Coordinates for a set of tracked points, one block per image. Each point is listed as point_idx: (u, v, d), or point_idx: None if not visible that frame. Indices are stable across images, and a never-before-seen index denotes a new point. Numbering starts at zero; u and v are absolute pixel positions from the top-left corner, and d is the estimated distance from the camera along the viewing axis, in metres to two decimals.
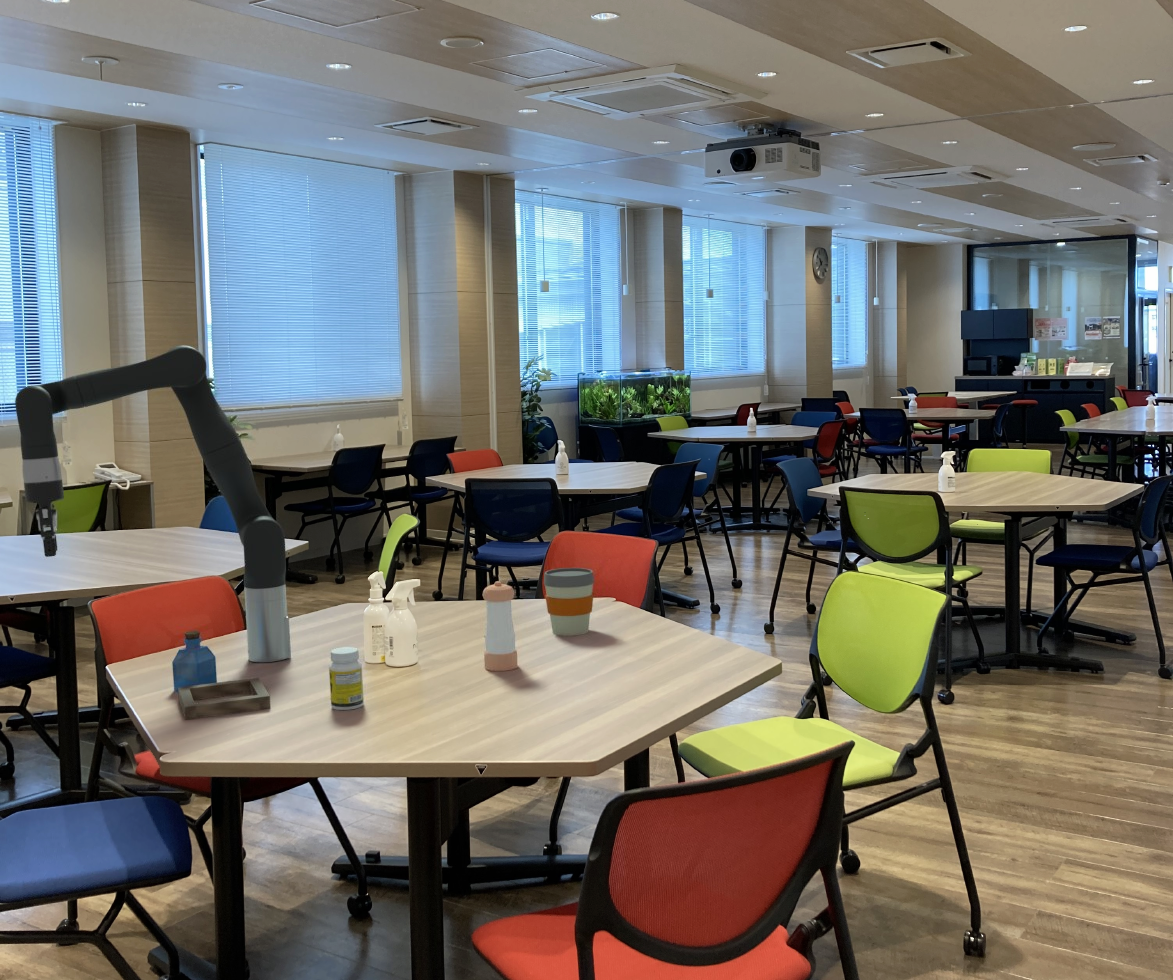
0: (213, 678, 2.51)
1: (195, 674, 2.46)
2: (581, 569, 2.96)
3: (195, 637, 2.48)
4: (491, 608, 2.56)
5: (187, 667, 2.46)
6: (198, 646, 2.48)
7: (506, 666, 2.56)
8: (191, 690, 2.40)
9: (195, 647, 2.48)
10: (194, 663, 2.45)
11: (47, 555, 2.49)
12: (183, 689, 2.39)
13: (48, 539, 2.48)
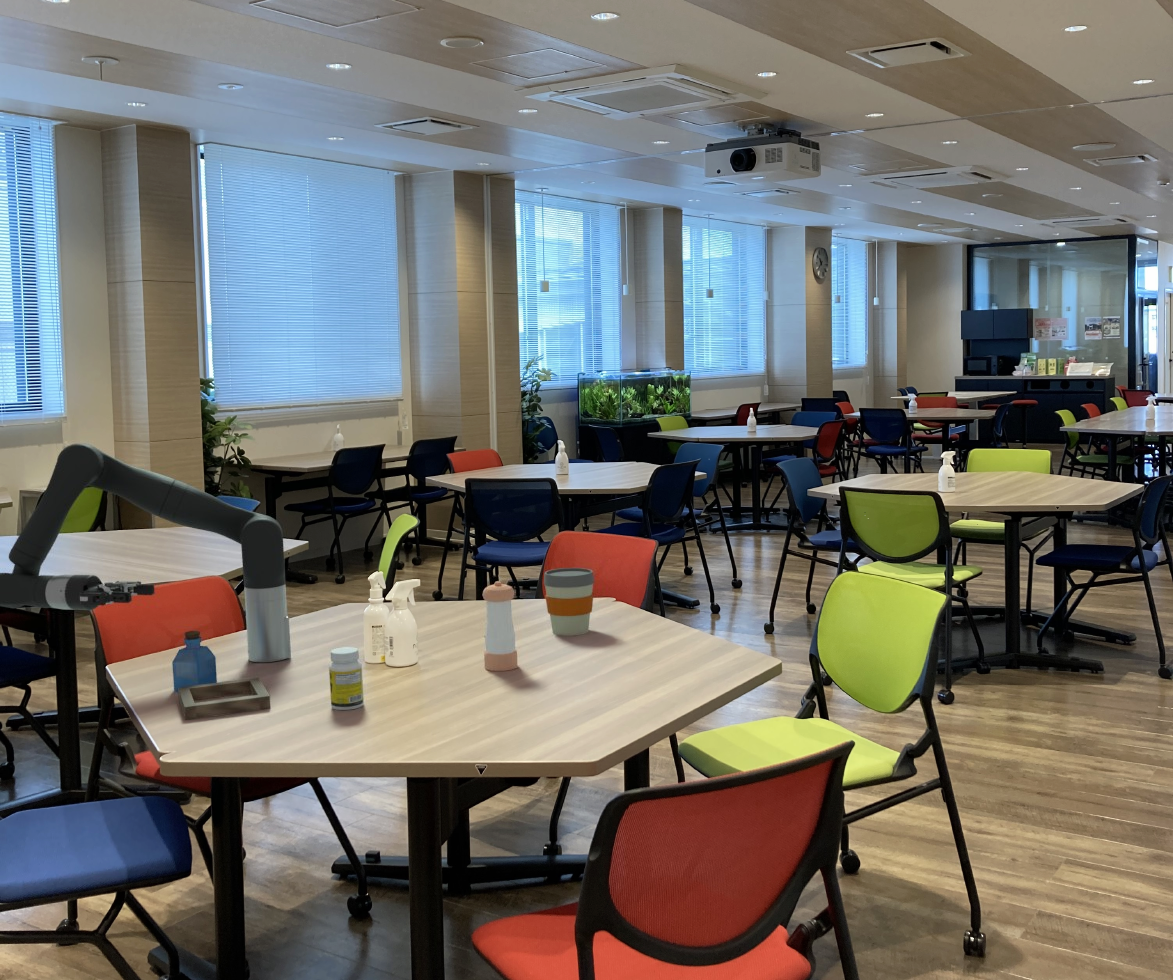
0: (213, 678, 2.51)
1: (195, 674, 2.46)
2: (581, 569, 2.96)
3: (195, 637, 2.48)
4: (491, 608, 2.56)
5: (187, 667, 2.46)
6: (198, 646, 2.48)
7: (506, 666, 2.56)
8: (191, 690, 2.40)
9: (195, 647, 2.48)
10: (194, 663, 2.45)
11: (128, 600, 2.46)
12: (183, 689, 2.39)
13: (111, 598, 2.45)
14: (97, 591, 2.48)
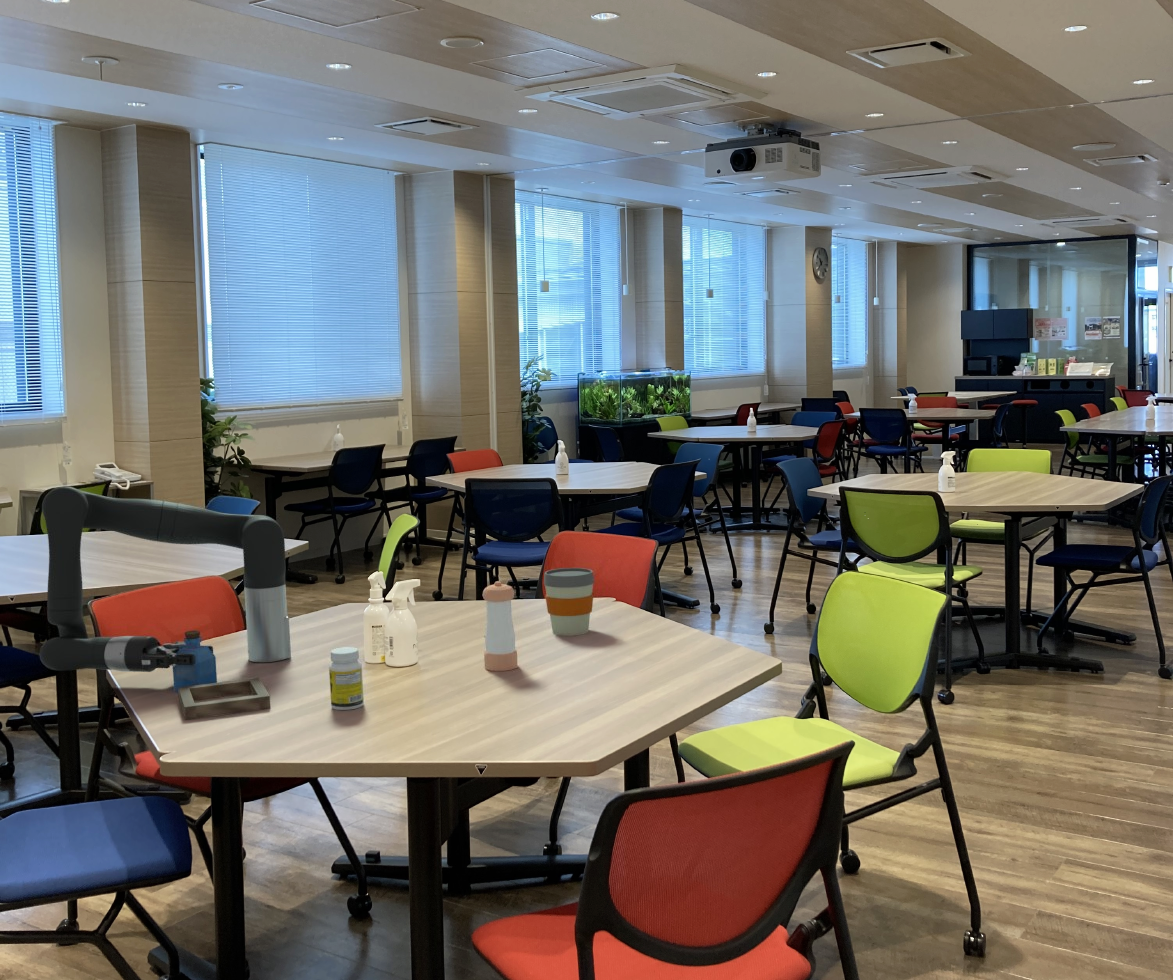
0: (213, 678, 2.51)
1: (195, 674, 2.46)
2: (581, 569, 2.96)
3: (195, 637, 2.48)
4: (491, 608, 2.56)
5: (187, 667, 2.46)
6: (198, 646, 2.48)
7: (506, 666, 2.56)
8: (191, 690, 2.40)
9: (195, 647, 2.48)
10: None
11: (192, 662, 2.45)
12: (183, 689, 2.39)
13: (175, 660, 2.45)
14: (157, 653, 2.47)
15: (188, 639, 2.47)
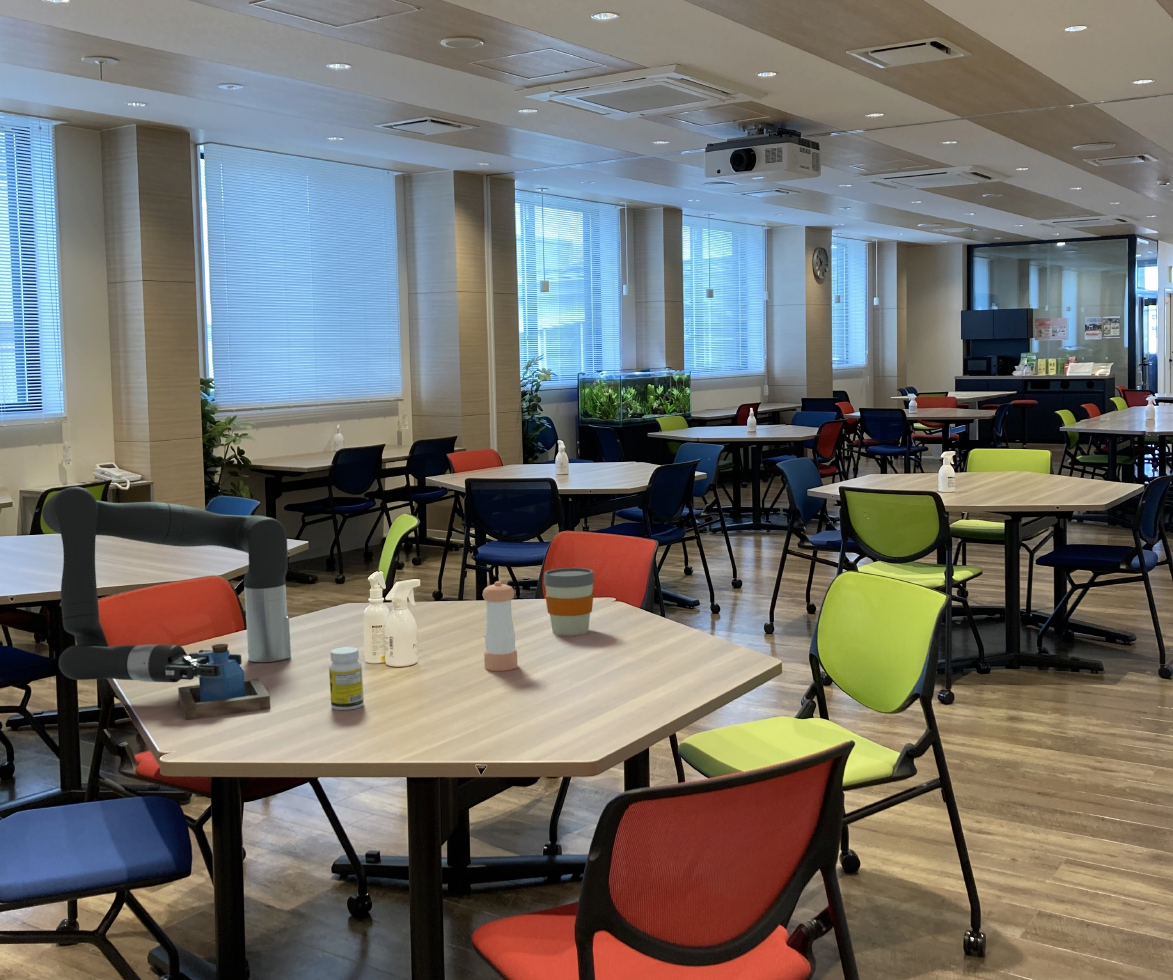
0: (242, 694, 2.38)
1: (224, 690, 2.33)
2: (581, 569, 2.96)
3: (223, 650, 2.35)
4: (491, 608, 2.56)
5: (215, 682, 2.33)
6: (226, 660, 2.35)
7: (506, 666, 2.56)
8: (191, 690, 2.40)
9: (223, 661, 2.35)
10: (223, 678, 2.32)
11: (217, 673, 2.31)
12: (183, 689, 2.39)
13: (199, 671, 2.31)
14: (183, 663, 2.34)
15: (216, 653, 2.34)
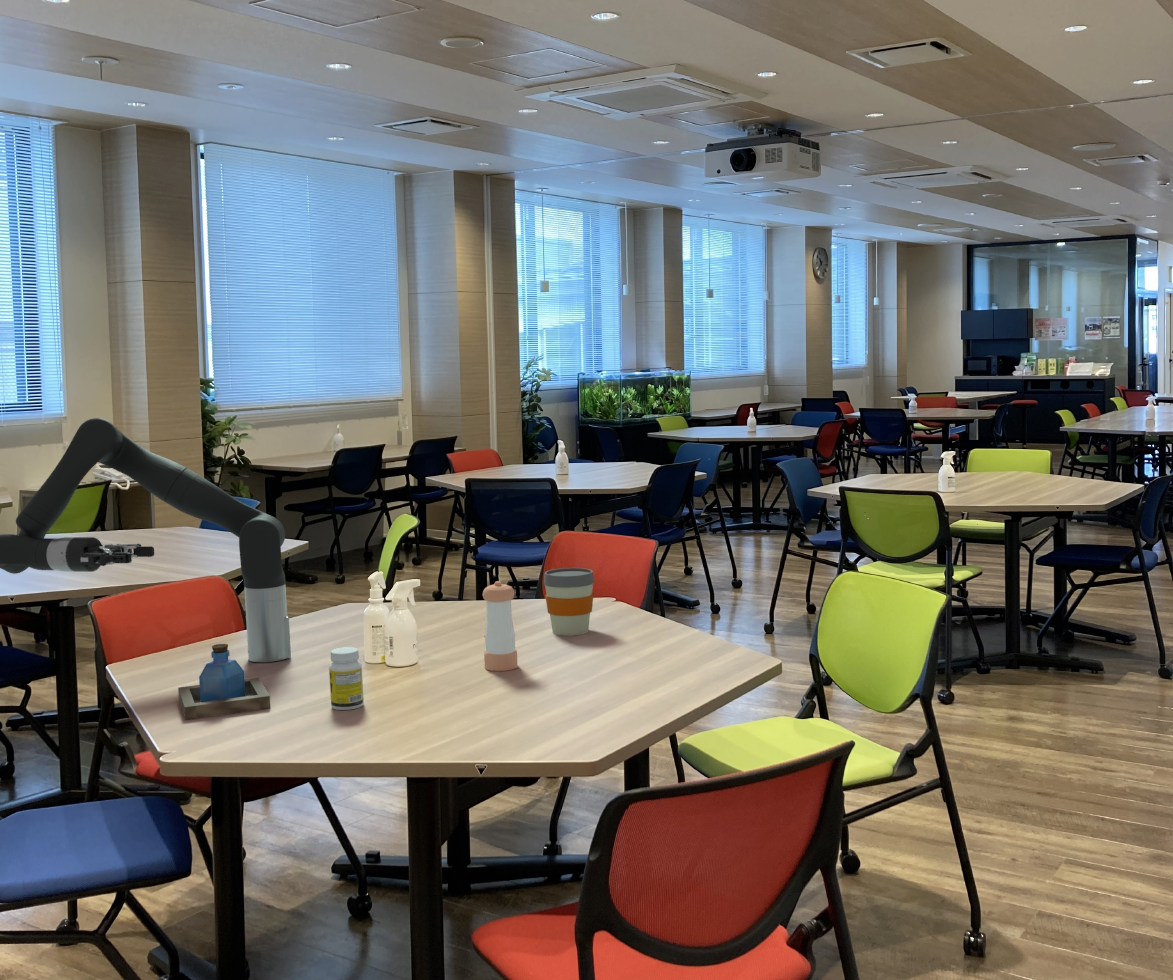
0: (242, 694, 2.38)
1: (224, 690, 2.33)
2: (581, 569, 2.96)
3: (223, 650, 2.35)
4: (491, 608, 2.56)
5: (215, 682, 2.33)
6: (226, 660, 2.35)
7: (506, 666, 2.56)
8: (191, 690, 2.40)
9: (223, 661, 2.35)
10: (223, 678, 2.32)
11: (128, 560, 2.48)
12: (183, 689, 2.39)
13: (111, 558, 2.48)
14: (97, 552, 2.51)
15: (216, 653, 2.34)
